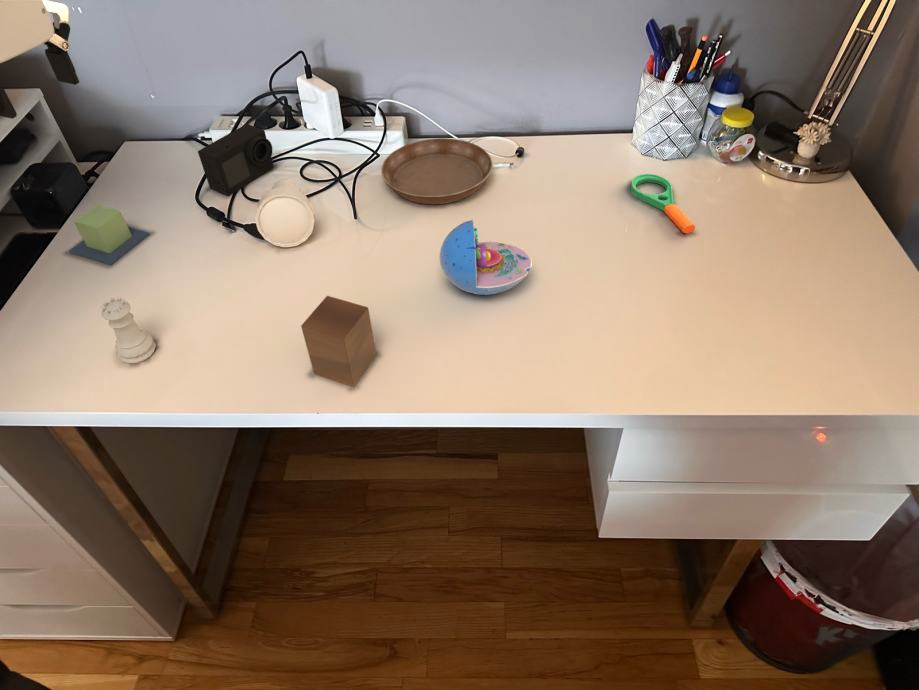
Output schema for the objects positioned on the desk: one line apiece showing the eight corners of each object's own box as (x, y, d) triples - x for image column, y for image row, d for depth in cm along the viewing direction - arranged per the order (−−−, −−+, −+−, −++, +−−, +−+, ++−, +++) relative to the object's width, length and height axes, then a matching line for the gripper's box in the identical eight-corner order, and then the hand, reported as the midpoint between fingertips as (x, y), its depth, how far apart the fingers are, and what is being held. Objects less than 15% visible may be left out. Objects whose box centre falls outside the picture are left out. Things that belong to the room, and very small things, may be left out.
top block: (110, 253, 97) (97, 227, 94) (86, 246, 98) (73, 221, 95) (132, 236, 100) (120, 210, 97) (109, 229, 101) (97, 204, 98)
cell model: (534, 307, 87) (538, 247, 80) (442, 312, 87) (438, 252, 80) (526, 259, 94) (529, 201, 87) (440, 263, 94) (436, 205, 87)
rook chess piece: (111, 358, 82) (83, 310, 77) (139, 335, 85) (114, 287, 80) (137, 370, 81) (111, 322, 75) (164, 346, 84) (141, 298, 78)
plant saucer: (361, 194, 107) (358, 177, 104) (420, 144, 117) (418, 128, 115) (458, 224, 100) (457, 207, 98) (511, 168, 111) (511, 151, 109)
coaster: (111, 266, 95) (110, 263, 95) (69, 253, 98) (68, 251, 98) (150, 234, 101) (149, 232, 100) (109, 223, 103) (108, 221, 103)
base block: (354, 387, 78) (343, 339, 72) (313, 374, 80) (300, 325, 74) (376, 356, 81) (368, 307, 76) (337, 343, 83) (326, 295, 77)
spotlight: (256, 248, 95) (253, 193, 91) (260, 217, 104) (258, 166, 100) (314, 249, 97) (314, 196, 93) (313, 219, 106) (313, 169, 102)
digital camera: (232, 199, 107) (220, 159, 102) (209, 189, 109) (196, 150, 104) (279, 170, 113) (270, 131, 108) (256, 161, 115) (246, 122, 110)
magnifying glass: (623, 184, 107) (624, 174, 105) (658, 177, 108) (660, 168, 106) (668, 238, 96) (670, 228, 95) (706, 231, 97) (709, 221, 96)
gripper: (5, -81, 78) (70, 66, 90) (-140, -36, 67) (-43, 124, 79) (52, -76, 76) (113, 75, 88) (-89, -29, 65) (2, 136, 77)
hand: (39, 98), depth 83 cm, fingers open, 9 cm apart
